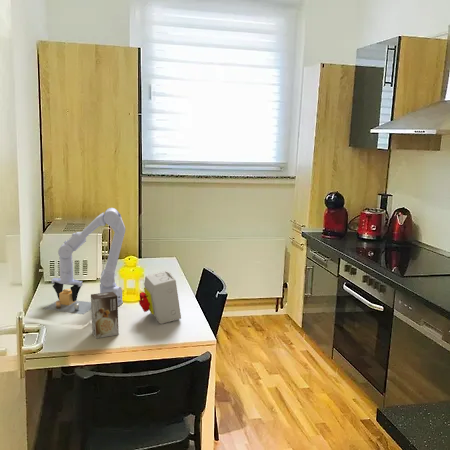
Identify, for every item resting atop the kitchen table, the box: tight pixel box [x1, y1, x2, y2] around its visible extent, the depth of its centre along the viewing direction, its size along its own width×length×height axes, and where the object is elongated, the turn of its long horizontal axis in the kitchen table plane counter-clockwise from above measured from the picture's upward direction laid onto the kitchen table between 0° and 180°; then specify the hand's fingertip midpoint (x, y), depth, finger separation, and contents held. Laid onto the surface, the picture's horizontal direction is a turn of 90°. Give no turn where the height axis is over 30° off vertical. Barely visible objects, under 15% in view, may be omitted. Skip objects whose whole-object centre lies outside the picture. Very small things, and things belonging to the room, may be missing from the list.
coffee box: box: [90, 292, 120, 339], centre depth 193 cm, size 9×6×16 cm
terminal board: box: [42, 299, 91, 315], centre depth 219 cm, size 20×14×2 cm
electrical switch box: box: [138, 270, 182, 325], centre depth 210 cm, size 15×15×20 cm
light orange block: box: [58, 288, 76, 305], centre depth 222 cm, size 5×5×6 cm
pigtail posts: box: [55, 300, 79, 311], centre depth 215 cm, size 11×2×3 cm, turn 74°
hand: (67, 299), depth 223 cm, fingers open, 7 cm apart
